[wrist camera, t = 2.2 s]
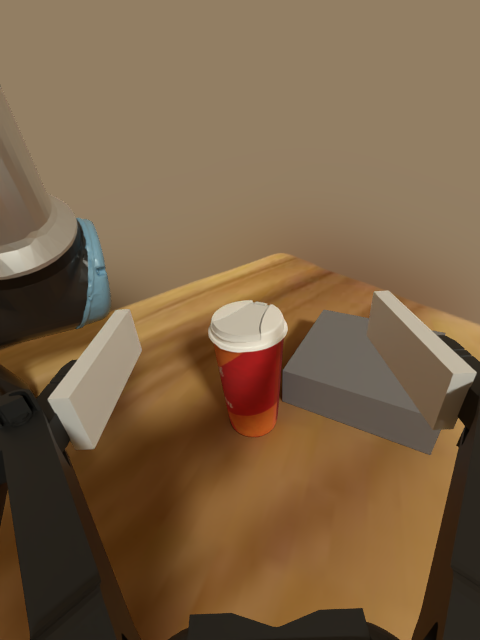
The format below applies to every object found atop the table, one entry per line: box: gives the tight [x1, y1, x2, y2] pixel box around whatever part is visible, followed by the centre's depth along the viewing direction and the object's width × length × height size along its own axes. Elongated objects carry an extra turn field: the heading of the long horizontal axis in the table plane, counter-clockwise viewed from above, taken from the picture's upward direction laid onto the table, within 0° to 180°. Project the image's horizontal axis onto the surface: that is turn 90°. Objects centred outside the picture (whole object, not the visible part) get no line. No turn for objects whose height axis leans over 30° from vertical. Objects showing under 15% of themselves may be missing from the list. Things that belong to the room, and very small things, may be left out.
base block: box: [282, 310, 445, 455], centre depth 38 cm, size 16×16×5 cm
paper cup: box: [208, 300, 288, 437], centre depth 31 cm, size 8×8×14 cm
